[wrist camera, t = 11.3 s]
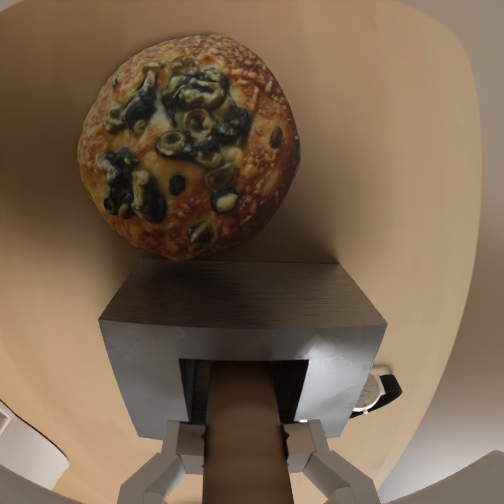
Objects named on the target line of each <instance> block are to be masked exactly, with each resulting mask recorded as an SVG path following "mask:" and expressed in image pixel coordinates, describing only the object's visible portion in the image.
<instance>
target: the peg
mask: <svg viewBox="0 0 504 504" xmlns="http://www.w3.org/2000/svg"><path fill="white" fill-rule="evenodd" d="M206 425H207V431H206V441H205V448H206V452H205V464H204V469H203V495H202V504H294V501H293V495H292V489H291V483H290V477H289V471H288V465H287V461H286V455H285V450H284V442H283V438H282V432H281V424H280V418H279V412H278V406H277V401H276V395H275V389H274V383H273V377H272V371H271V365H270V360H267V361H235V360H210V372H209V385H208V399H207V414H206Z"/></svg>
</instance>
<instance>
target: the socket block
mask: <svg viewBox="0 0 504 504" xmlns="http://www.w3.org/2000/svg"><path fill="white" fill-rule="evenodd" d="M98 321H99V325H100V329H101V332H102V336H103V340H104V343H105V347H106V350H107V353H108V357H109V360H110V363H111V366H112V369H113V372H114V375H115V378H116V381H117V384H118V386H119V389H120V392H121V395H122V397H123V400H124V402H125V405H126V407H127V410H128V412H129V415H130V417H131V420H132V422H133V424H134V427H135V429H136V431H137V433H138V436H139V437H144V438H150V439H157V440H163V439H164V433H165V427H166V423H167V420H168V419H169V420H180V421H189V422H203V423H206V414H207V399H208V385H209V372H210V360H235V361H267V360H270V365H271V371H272V377H273V383H274V389H275V395H276V401H277V406H278V412H279V418H280V424H281V423H282V422H287V421H298V420H310V419H320V420H321V423H322V426H323V430H324V433H325V436H326V439H327V438H334V437H340V435H341V433H342V431H343V429H344V427H345V425H346V423H347V421H348V419H349V417H350V415H351V413H352V411H353V409H354V407H355V405H356V403H357V400H358V398H359V396H360V394H361V392H362V389H363V387H364V385H365V382H366V380H367V378H368V375H369V373H370V370H371V368H372V365H373V363H374V360H375V358H376V355H377V352H378V350H379V347H380V344H381V342H382V339H383V336H384V333H385V330H386V327H387V324H388V323H387V322H386V321H385V319H384V318H383V317H382V316H381V314H380V313H379V312H378V310H377V309H376V308H375V307H374V305H373V304H372V303H371V301H370V300H369V299H368V298H367V296H366V295H365V294H364V293H363V291H362V290H361V289H360V288H359V286H358V285H357V284H356V283H355V281H354V280H353V279H352V278H351V277H350V275H349V274H348V273H347V272H346V270H345V269H344V268H343V267H342V266H341V264H325V263H278V262H239V261H204V260H185V261H180V262H177V261H172V260H170V259H144V258H141V260H140V261H139V262H138V264H137V265H136V266H135V268H134V269H133V270H132V272H131V273H130V274H129V276H128V277H127V279H126V280H125V281H124V283H123V284H122V286H121V287H120V288H119V290H118V291H117V293H116V294H115V295H114V297H113V298H112V300H111V301H110V303H109V304H108V306H107V307H106V309H105V310H104V311H103V313H102V314H101V316H100V317H99V319H98Z"/></svg>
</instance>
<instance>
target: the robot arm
mask: <svg viewBox="0 0 504 504" xmlns="http://www.w3.org/2000/svg"><path fill="white" fill-rule="evenodd" d="M206 431H207V425H206V423H203V422H189V421H180V420H169V419H168V420H167V423H166V427H165V433H164V439H163V445H162V451H161V453H156V454H155V455H154V456H153V457H152V458H151V459H150V460H149V461H148V462H147V463H146V464H144V465H143V466H142V467H141V468H140V469H139V470H138V471H137V472H136V473H134V474H133V475H132V476H131V477H130V478H129V479H128V480H126V481H125V482H124V483H123V484H122V485H121V487H120V492H119V497H118V502H117V504H167V502H166V501H165V499H166V498H167V497H168V496H169V494H170V493H171V492H172V491H173V490H174V489H175V487H176V486H177V485H178V484H179V483H180V482H181V480H182V479H183V478H184V477H185V476H186V474H198V475H203V469H204V464H205V452H206V448H205V441H206ZM281 432H282V438H283V442H284V450H285V455H286V461H287V465H288V471H289V473H297V472H303V474H304V475H305V476H306V477H307V478H308V479H309V480H310V481H311V482H312V483H313V484H314V485H315V486H316V487H317V488H318V489H319V490H320V491H321V492H322V493H323V494H324V495H325V496H326V497H327V498H328V500H327V501H326V502H325V503H324V504H381V503H380V500H379V497H378V495H377V492H376V489H375V486H374V483H373V480H372V479H371V478H369V477H368V476H366V475H365V474H364V473H362V472H361V471H360V470H358V469H357V468H356V467H354V466H353V465H352V464H350V463H349V462H348V461H346V460H345V459H344V458H343V457H341V456H340V455H339V454H338V453H336V452H335V451H334V450H329V446H328V443H327V440H326V436H325V433H324V430H323V426H322V423H321V420H320V419H310V420H298V421H287V422H282V423H281ZM69 465H70V464H69V462H68V460H67V458H66V457H65V456H64V455H63V454H62V453H61V452H60V451H59V450H58V449H57V448H56V447H55V446H54V445H53V444H52V443H50V442H49V441H48V440H47V439H46V438H44V437H43V436H42V435H40V434H39V433H38V432H37V431H35V430H34V429H33V428H31V427H30V426H29V425H27V424H26V423H24V422H23V421H22V420H20V419H19V418H18V417H17V416H15V415H14V414H13V413H12V412H11V411H10V410H9V409H8V408H7V407H6V406H5V405H4V404H3V403H2V402H1V401H0V504H85V503H82V502H79V501H77V500H74V499H71V498H69V497H66V496H63V495H61V494H59V493H56V492H54V491H52V490H53V488H54V486H55V485H56V483H57V481H58V480H59V478H60V477H61V475H62V474H63V473H64V472H65V470H66V469H67V468H68V467H69ZM385 504H504V452H501V451H498V450H494V451H492V452H490V453H488V454H487V455H485V456H483V457H482V458H480V459H479V460H477V461H475V462H474V463H472V464H471V465H469V466H467V467H465V468H463V469H462V470H460V471H458V472H456V473H454V474H453V475H451V476H449V477H447V478H445V479H443V480H441V481H439V482H437V483H434V484H433V485H430V486H428V487H426V488H423V489H421V490H419V491H416V492H414V493H412V494H409V495H407V496H404V497H401V498H399V499H396V500H393V501H391V502H388V503H385Z"/></svg>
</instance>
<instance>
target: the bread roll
mask: <svg viewBox="0 0 504 504" xmlns="http://www.w3.org/2000/svg"><path fill="white" fill-rule="evenodd" d="M82 130H83V133H82V135H81V137H80V140H79V143H78V149H77V160H78V163H79V164H80V166H79V172H80V176H81V180H82V182H83V183H84V185H85V186H84V189H85V190H86V192H87V194H88V195H89V197H90V199H91V200H92V201H93V202H94V203H95V205H96V207H97V209H98V211H99V212H100V214H101V215H102V216H103V218H104V219H105V220H106V222H107V223H108V225H109V226H110V228H111V229H113V230H114V231H117V232H118V233H119V235H120V236H122V237H124V238H126V239H127V240H128V241H129V242H130V244H131V245H132V246H134V247H136V248H137V249H146V250H148V251H150V252H152V253H154V254H157V255H162V256H164V257H165V258H168V259H170V260H172V261H177V262H180V261H185V260H188V259H192V258H200V257H209V256H213V255H216V254H217V253H221V252H222V251H224V250H226V249H228V248H231V247H234V246H237V245H239V244H241V243H243V242H244V241H245V240H247V239H249V238H250V237H252V236H254V235H255V234H256V233H257V232H259V231H260V230H261V229H262V228H264V227H265V225H266V224H267V223H268V222H269V220H270V219H271V218H272V216H273V215H274V214H275V212H276V211H277V210H278V208H279V207H280V205H281V204H282V202H283V200H284V198H285V196H286V194H287V192H288V190H289V187H290V185H291V183H292V180H293V178H294V176H295V175H296V172H297V170H298V167H299V164H300V143H299V136H298V133H297V130H296V124H295V121H294V117H293V114H292V111H291V109H290V106H289V103H288V101H287V99H286V97H285V95H284V93H283V91H282V89H281V87H280V85H279V84H278V82H277V80H276V79H275V77H274V75H273V74H272V72H271V71H270V70H269V69H268V68H267V66H266V65H265V64H264V62H263V61H262V60H261V59H260V58H259V56H258V55H257V54H255V53H254V52H253V51H252V50H251V49H248V48H246V47H245V46H243V45H241V44H239V43H237V42H236V41H234V40H233V39H231V38H229V37H227V36H224V35H216V34H210V35H208V36H198V35H197V36H192V37H186V38H177V39H174V40H168V41H164V42H162V43H159V44H157V45H154V46H152V47H150V48H145V49H143V50H142V51H141V52H140V53H138V54H137V55H135V56H132V57H130V58H129V60H127V61H126V62H125V63H124V64H122V65H121V66H119V68H118V69H117V70H116V71H115V72H114V73H113V74H112V75H111V77H110V78H109V79H108V81H107V82H106V84H105V85H104V86H103V87H102V88H101V89H100V91H99V94H98V97H97V99H96V102H95V103H94V104H93V105H92V106H91V109H90V111H89V113H88V115H87V117H86V119H85V121H84V123H83V127H82Z"/></svg>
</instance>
